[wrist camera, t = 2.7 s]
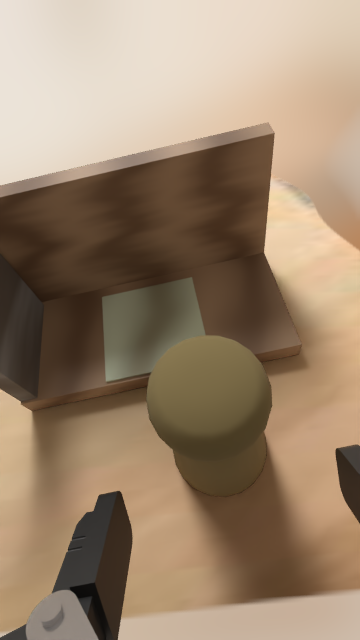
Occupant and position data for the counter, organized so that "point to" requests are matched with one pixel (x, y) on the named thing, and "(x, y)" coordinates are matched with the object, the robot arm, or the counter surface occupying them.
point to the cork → (212, 412)
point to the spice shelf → (136, 266)
